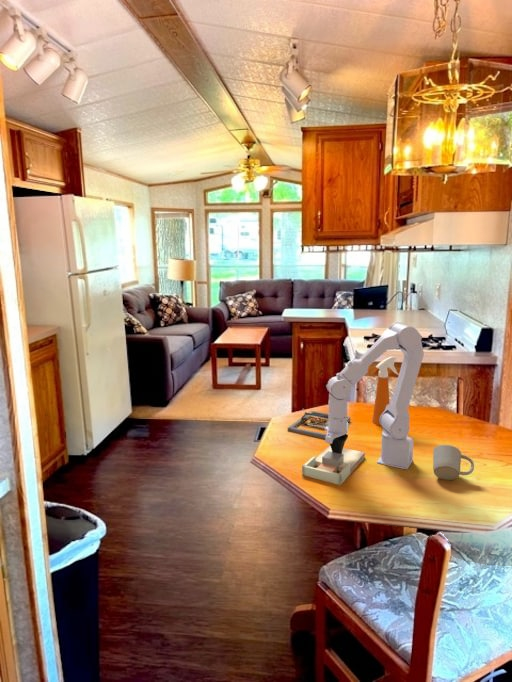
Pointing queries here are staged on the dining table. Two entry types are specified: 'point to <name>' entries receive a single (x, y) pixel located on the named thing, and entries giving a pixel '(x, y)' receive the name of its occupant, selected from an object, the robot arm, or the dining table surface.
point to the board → (345, 458)
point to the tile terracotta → (327, 467)
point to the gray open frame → (317, 434)
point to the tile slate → (333, 459)
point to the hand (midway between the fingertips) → (336, 457)
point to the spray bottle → (382, 388)
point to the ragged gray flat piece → (316, 419)
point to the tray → (324, 472)
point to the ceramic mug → (449, 462)
